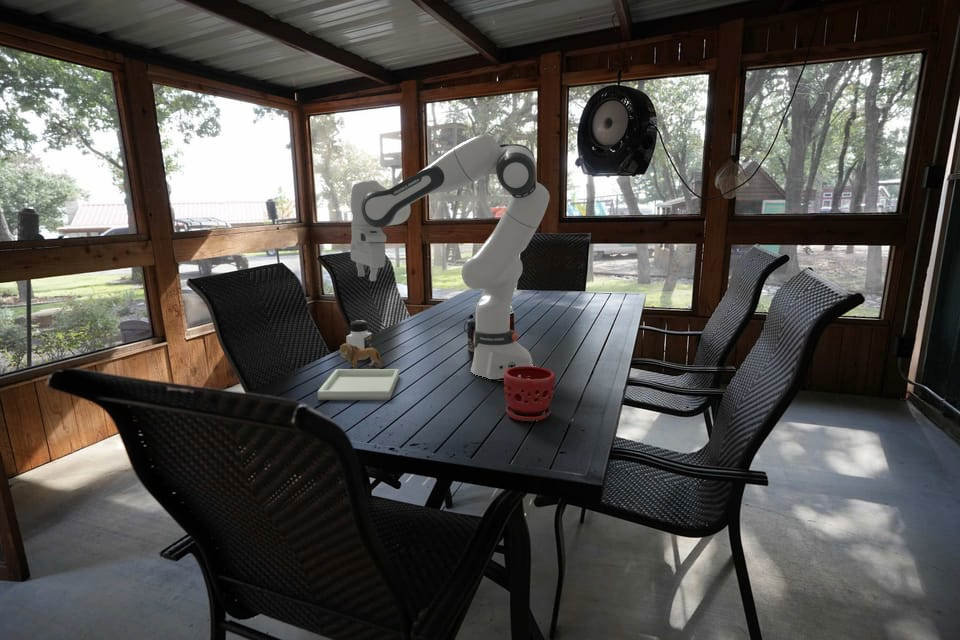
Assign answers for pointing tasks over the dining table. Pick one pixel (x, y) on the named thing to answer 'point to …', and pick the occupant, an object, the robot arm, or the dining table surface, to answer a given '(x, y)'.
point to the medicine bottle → (359, 335)
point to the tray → (359, 384)
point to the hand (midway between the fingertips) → (367, 278)
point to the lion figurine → (359, 354)
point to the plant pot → (528, 392)
